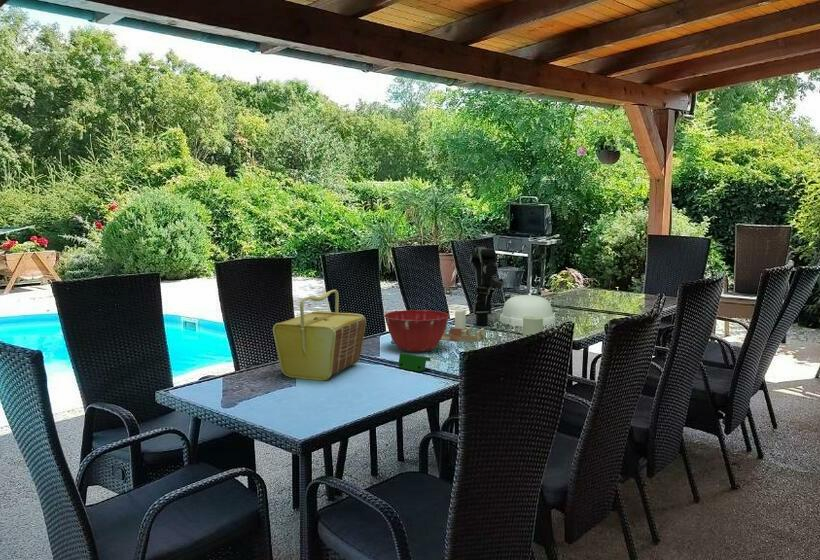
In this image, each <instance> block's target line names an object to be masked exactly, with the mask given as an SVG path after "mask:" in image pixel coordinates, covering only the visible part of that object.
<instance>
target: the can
mask: <svg viewBox="0 0 820 560" xmlns="http://www.w3.org/2000/svg"><path fill="white" fill-rule="evenodd" d="M541 330H543V331H544V326H543V317H540V316H524V317H523V326H522V337H523V336H526V335H530V334H533V333H536V332H539V331H541Z"/></svg>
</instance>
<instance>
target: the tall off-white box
mask: <svg viewBox="0 0 820 560" xmlns="http://www.w3.org/2000/svg"><path fill="white" fill-rule="evenodd" d="M466 313H467V312H466V309H457V310H455V311H454V328H459V329H462V331H464V330H466V329H467V327H466V324H467V323H466V321H467V320H466V316H467V315H466Z"/></svg>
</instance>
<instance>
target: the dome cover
mask: <svg viewBox="0 0 820 560" xmlns="http://www.w3.org/2000/svg"><path fill="white" fill-rule="evenodd" d="M524 316H540V317H543V325H547V326H551V324H552V325H554V324H556V323H555V322H556V316H555V314H554V312H553V308H552V305H551V303H550V302H549V301H548V300H547V299H546V298H545V297H542V296H538V295H534V294H532V295H531V294H524V295H523V294H519V295H514V296H512V297H509V298H508V299H507V300H506V301H505V303H504V304H503V307H502V313H500V316H499V322H500V321H501V322H502V324H504V323H505V325H508V324H509V326H515V325H517V326H516V327H523V317H524ZM501 322H500V323H501ZM553 323H554V324H553ZM548 324H549V325H548Z"/></svg>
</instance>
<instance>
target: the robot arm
mask: <svg viewBox="0 0 820 560" xmlns="http://www.w3.org/2000/svg"><path fill="white" fill-rule="evenodd" d="M497 262H498V256H497V253H496V250H495V249H494V248H486V246H484V245H483V246H482V245H481V246H475V248H474V250H473V251H472V252H471V253H470V257H469V263H470V264H471V268H472V270H473V271H474V275H475V276H474V277H475V285H476V287H475V293H476V298H475V300H474V304H473V307H472V313H473V314H474V315H475V323H473V324H472V325H473V326H477V327H487V326H488V325H489V326H491V324H489V317H488V315H491V314H492V307H493V305H492V299H493V296H494V293H495V292H496V291H497V290H503V289H504V286H505V280H504V279H503V278H499V279H498V278H495V275H496V274H497V272H498V268H497V266H496V265H495V264H496V263H497Z"/></svg>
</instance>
